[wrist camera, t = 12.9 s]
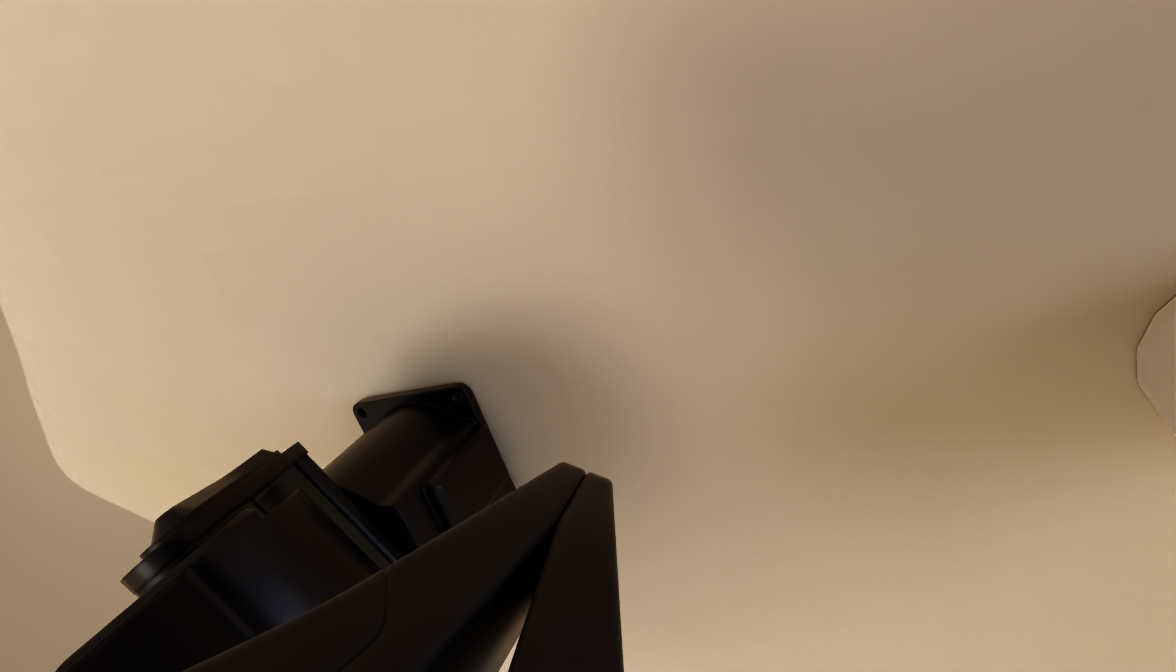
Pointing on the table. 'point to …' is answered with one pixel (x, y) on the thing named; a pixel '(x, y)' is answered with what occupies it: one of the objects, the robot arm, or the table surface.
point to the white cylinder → (1160, 363)
